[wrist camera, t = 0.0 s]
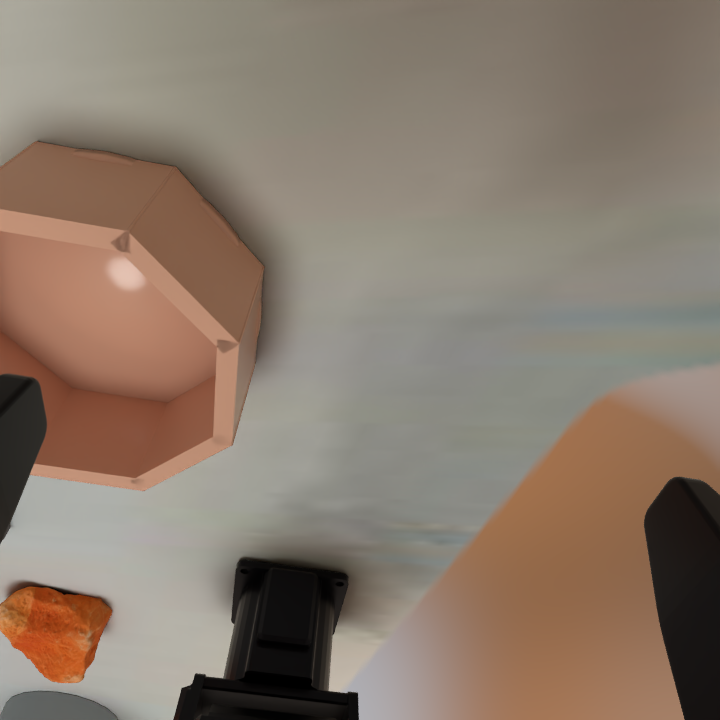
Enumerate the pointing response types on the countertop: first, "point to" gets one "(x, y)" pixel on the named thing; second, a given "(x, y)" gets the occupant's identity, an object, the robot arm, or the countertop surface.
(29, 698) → the spray bottle
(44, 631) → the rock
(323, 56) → the countertop surface
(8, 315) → the bowl
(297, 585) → the robot arm
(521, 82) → the countertop surface
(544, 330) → the countertop surface
